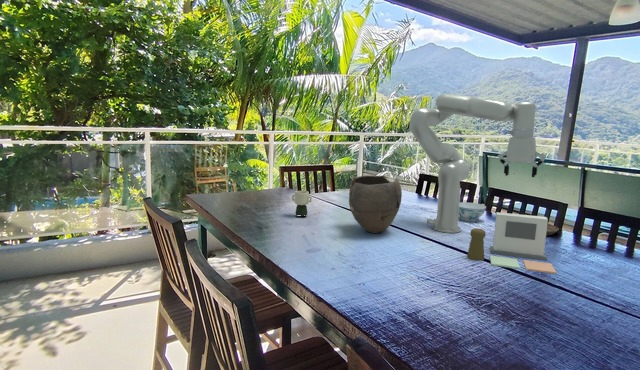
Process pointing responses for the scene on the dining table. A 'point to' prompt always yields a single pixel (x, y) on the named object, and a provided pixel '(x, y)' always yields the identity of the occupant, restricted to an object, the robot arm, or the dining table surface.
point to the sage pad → (504, 262)
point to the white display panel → (520, 235)
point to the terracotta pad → (539, 266)
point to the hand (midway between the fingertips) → (519, 176)
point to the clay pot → (374, 202)
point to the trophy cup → (301, 202)
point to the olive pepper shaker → (476, 244)
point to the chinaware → (471, 211)
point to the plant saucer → (551, 229)
